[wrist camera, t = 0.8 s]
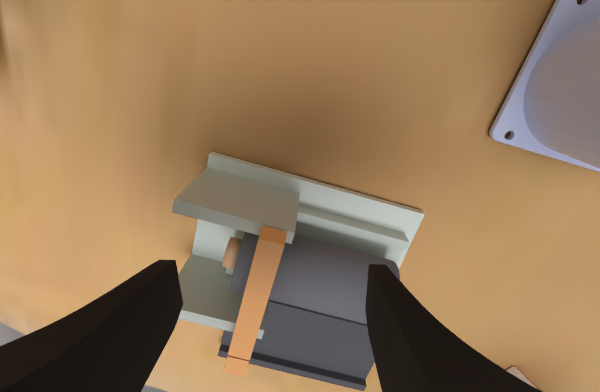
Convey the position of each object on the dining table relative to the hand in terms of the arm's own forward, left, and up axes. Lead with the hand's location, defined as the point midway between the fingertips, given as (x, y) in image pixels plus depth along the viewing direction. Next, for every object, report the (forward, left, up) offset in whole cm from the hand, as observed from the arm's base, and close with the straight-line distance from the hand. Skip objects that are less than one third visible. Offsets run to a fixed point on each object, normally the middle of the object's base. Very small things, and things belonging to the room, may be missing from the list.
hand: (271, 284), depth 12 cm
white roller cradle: (-2, +4, -10) cm, 11 cm away
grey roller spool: (-3, +4, -6) cm, 8 cm away
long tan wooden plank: (0, +4, -4) cm, 6 cm away
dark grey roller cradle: (-4, +12, -10) cm, 16 cm away
